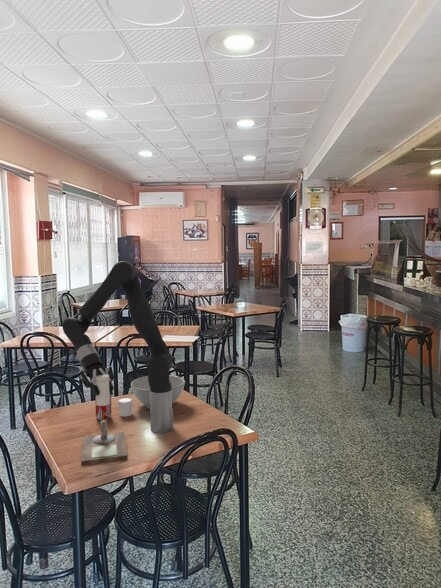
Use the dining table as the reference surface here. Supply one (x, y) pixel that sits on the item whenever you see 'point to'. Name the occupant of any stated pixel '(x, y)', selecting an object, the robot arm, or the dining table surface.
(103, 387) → the salt shaker
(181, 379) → the decorative bowl
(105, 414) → the soda can
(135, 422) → the dining table surface
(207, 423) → the dining table surface
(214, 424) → the dining table surface
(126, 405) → the white tapered cup
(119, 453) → the post board
